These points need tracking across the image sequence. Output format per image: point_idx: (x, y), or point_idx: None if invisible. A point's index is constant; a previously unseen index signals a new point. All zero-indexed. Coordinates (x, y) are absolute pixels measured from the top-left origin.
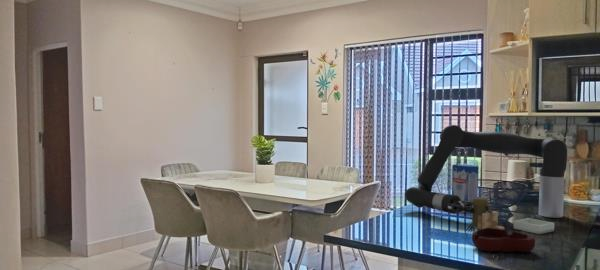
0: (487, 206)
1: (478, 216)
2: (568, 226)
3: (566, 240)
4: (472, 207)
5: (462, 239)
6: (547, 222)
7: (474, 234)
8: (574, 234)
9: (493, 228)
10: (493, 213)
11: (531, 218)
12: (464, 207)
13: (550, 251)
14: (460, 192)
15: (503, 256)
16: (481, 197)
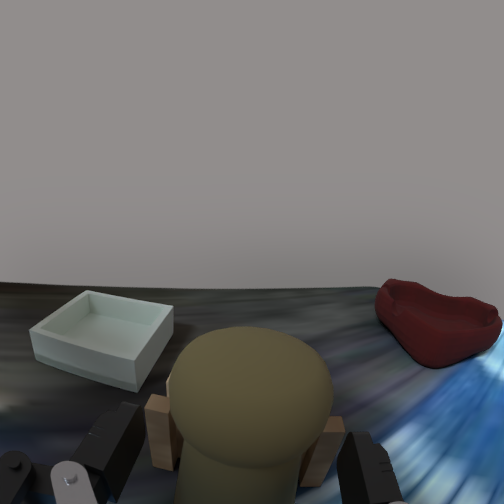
0: (137, 405)
1: (343, 432)
2: (6, 298)
3: (197, 298)
4: (363, 437)
5: (490, 400)
6: (81, 300)
7: (500, 319)
8: (106, 293)
9: (428, 324)
10: None
11: (37, 324)
12: (398, 502)
13: (336, 302)
14: None
15: None
16: (230, 345)
